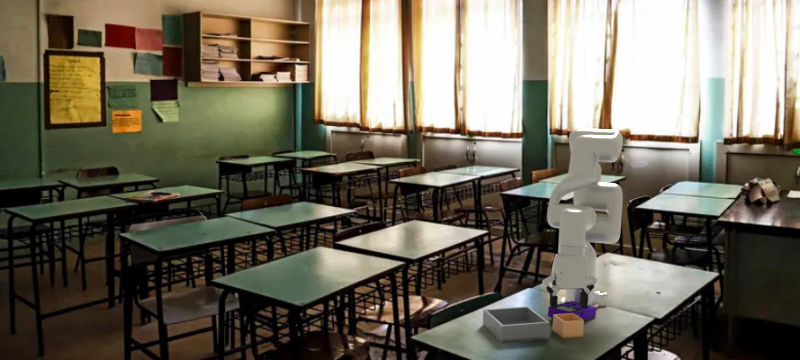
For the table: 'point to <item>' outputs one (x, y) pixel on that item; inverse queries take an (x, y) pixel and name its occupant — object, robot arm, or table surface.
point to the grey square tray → (516, 324)
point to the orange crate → (568, 325)
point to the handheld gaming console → (573, 310)
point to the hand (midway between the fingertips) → (568, 307)
